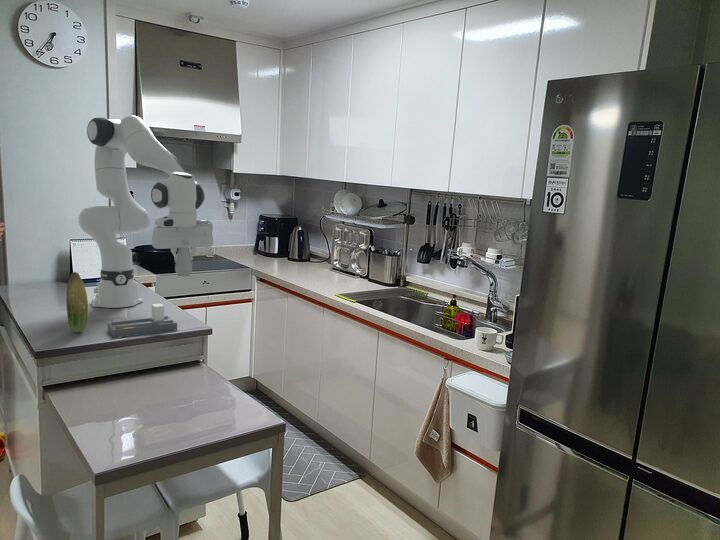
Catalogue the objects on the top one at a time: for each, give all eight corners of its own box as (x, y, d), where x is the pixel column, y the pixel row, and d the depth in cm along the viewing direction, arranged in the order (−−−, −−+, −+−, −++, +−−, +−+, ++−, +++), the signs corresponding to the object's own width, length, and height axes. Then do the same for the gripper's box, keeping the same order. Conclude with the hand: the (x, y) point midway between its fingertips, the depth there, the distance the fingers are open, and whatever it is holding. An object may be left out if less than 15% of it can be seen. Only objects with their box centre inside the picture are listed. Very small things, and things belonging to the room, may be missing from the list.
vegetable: (92, 330, 178) (89, 271, 175) (84, 335, 172) (82, 274, 169) (72, 330, 177) (69, 270, 174) (64, 335, 171) (61, 274, 168)
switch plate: (108, 330, 178) (107, 321, 178) (169, 323, 190) (168, 314, 190) (114, 337, 171) (113, 327, 171) (177, 329, 183) (176, 320, 183)
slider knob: (151, 319, 184) (151, 304, 183) (160, 318, 186) (160, 303, 185) (155, 322, 181) (154, 306, 180) (164, 321, 183) (164, 306, 182)
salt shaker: (187, 277, 183) (186, 239, 180) (171, 276, 184) (171, 238, 182) (195, 274, 188) (195, 237, 186) (180, 273, 189) (180, 236, 187)
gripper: (209, 219, 192) (209, 257, 194) (150, 220, 180) (150, 260, 182) (216, 221, 186) (216, 260, 189) (155, 221, 175) (156, 263, 177)
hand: (183, 260), depth 185 cm, fingers closed on salt shaker, 3 cm apart
